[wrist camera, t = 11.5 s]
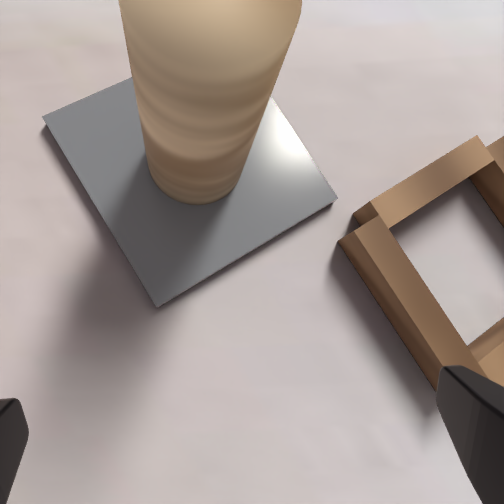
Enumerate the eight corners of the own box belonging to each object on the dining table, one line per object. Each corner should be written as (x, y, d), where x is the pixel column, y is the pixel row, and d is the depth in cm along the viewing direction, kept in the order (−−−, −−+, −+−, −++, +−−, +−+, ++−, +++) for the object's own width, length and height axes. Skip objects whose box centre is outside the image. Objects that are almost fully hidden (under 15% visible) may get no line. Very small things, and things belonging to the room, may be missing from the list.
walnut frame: (445, 405, 20) (473, 412, 18) (329, 228, 21) (344, 216, 19) (579, 294, 22) (617, 290, 20) (471, 140, 23) (497, 122, 21)
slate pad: (156, 308, 18) (156, 307, 18) (45, 123, 19) (41, 116, 19) (333, 201, 21) (338, 198, 20) (228, 42, 22) (230, 34, 21)
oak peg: (208, 223, 19) (237, 104, 9) (127, 168, 19) (73, -10, 9) (259, 152, 20) (333, -19, 11) (184, 99, 20) (189, -122, 10)
